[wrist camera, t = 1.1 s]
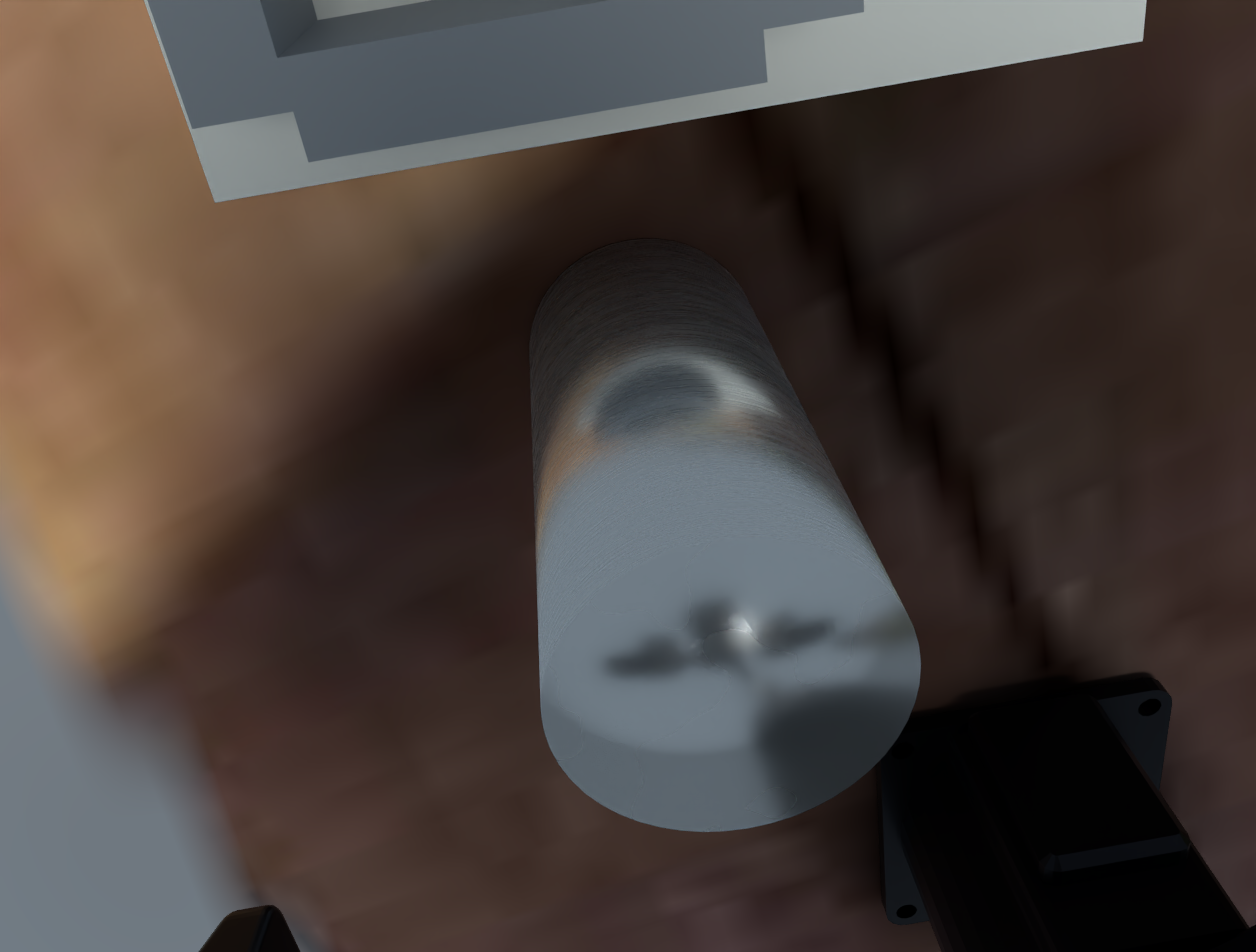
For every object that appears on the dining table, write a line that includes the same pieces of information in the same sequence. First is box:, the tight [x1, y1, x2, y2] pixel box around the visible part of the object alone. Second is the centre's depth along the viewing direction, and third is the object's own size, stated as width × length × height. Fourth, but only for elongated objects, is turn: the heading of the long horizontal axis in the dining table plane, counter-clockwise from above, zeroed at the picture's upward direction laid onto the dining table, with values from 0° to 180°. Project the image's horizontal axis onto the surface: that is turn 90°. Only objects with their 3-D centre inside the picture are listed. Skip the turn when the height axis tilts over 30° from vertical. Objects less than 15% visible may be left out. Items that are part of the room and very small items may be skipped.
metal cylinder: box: [529, 239, 921, 832], centre depth 15 cm, size 4×4×9 cm
